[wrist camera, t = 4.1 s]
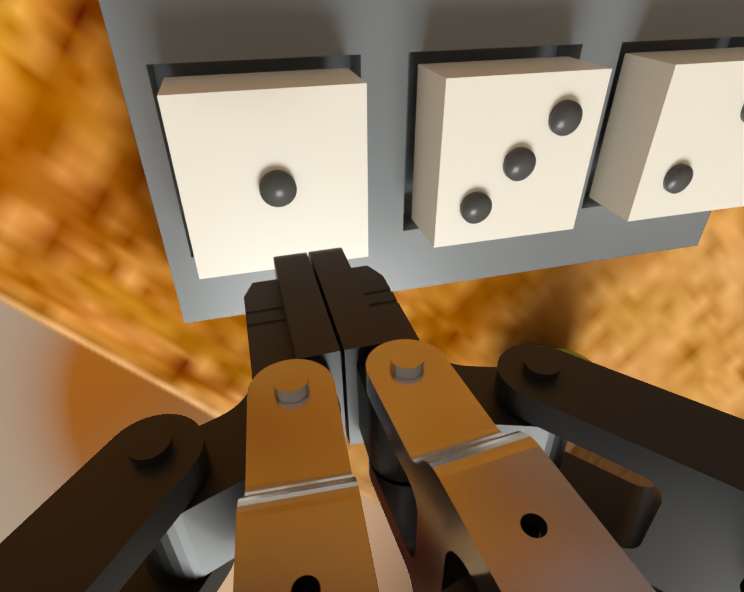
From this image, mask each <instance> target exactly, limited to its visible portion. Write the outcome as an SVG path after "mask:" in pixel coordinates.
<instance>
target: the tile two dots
mask: <svg viewBox="0 0 744 592" xmlns="http://www.w3.org/2000/svg"><path fill="white" fill-rule="evenodd" d="M589 197H590V198H591V199H593V200H594V201H596V202H597V203H599V204H601V205H602V206H604V207H605V208H607V209H609V210H610V211H612V212H613V213H615V214H617V215H618V216H620V217H621V218H623V219H624V220H626V221H636V220H643V219H650V218H658V217H665V216H673V215H680V214H688V213H695V212H702V211H710V210H717V209H725V208H732V207H739V206H744V47H734V48H715V49H696V50H677V51H657V52H638V53H625V56H624V60H623V64H622V68H621V72H620V76H619V80H618V84H617V87H616V91H615V95H614V99H613V103H612V107H611V111H610V115H609V119H608V123H607V127H606V131H605V135H604V139H603V143H602V147H601V151H600V155H599V159H598V163H597V167H596V171H595V175H594V179H593V182H592V186H591V190H590V194H589Z"/></svg>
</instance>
